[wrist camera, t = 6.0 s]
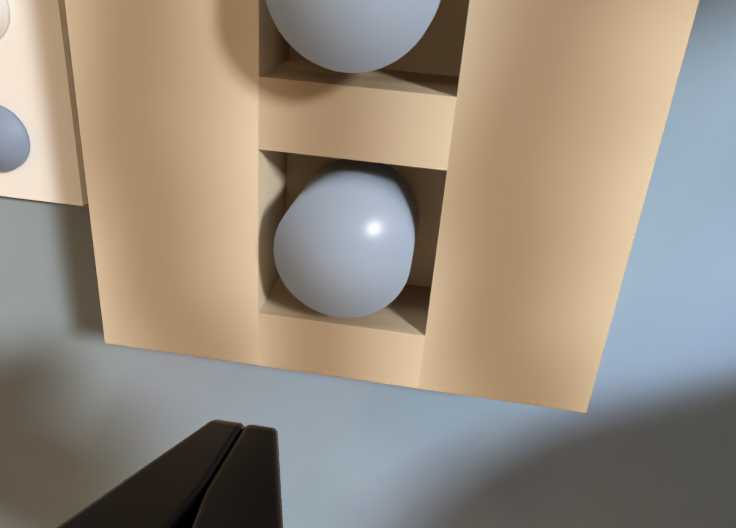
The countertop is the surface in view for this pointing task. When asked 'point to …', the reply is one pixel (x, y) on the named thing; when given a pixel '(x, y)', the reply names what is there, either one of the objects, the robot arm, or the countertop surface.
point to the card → (38, 105)
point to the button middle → (352, 30)
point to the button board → (397, 150)
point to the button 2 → (348, 239)
